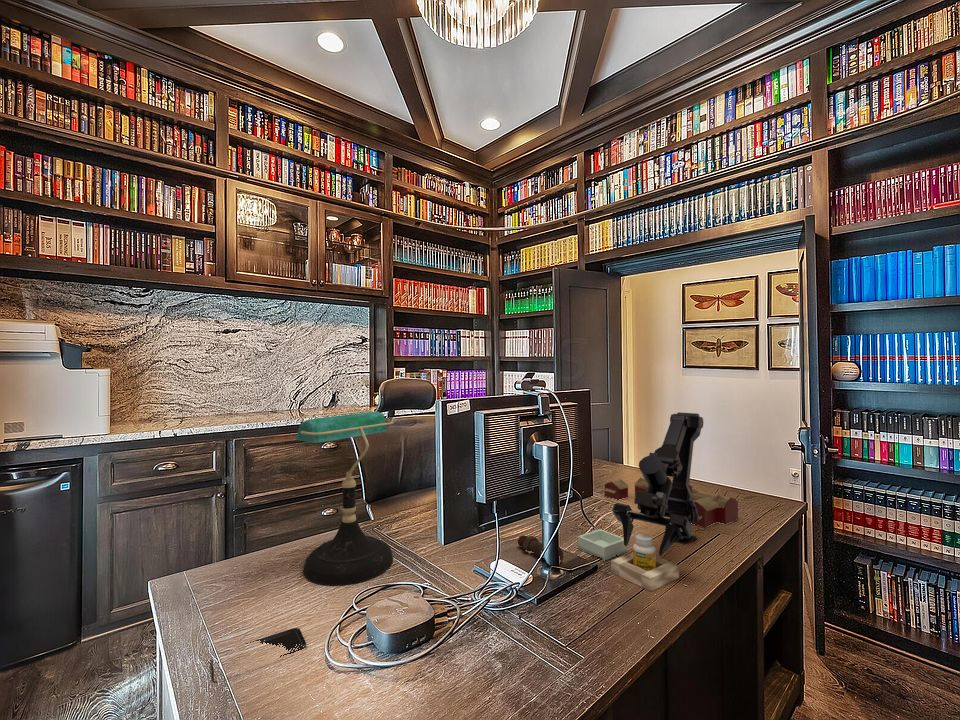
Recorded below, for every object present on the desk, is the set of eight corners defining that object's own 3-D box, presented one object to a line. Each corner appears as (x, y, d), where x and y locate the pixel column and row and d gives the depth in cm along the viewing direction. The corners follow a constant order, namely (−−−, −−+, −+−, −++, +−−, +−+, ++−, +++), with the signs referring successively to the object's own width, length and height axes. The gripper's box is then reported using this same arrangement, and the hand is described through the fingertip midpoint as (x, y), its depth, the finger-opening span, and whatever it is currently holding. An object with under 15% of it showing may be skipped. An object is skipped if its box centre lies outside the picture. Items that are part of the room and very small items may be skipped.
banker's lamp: (360, 538, 134) (360, 408, 135) (415, 557, 121) (414, 412, 122) (278, 572, 113) (278, 417, 113) (334, 599, 99) (333, 423, 100)
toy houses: (742, 519, 149) (741, 489, 149) (710, 532, 137) (709, 500, 137) (629, 489, 186) (629, 465, 186) (597, 497, 174) (597, 472, 174)
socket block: (639, 560, 117) (639, 549, 117) (679, 577, 108) (678, 565, 108) (611, 572, 111) (611, 560, 111) (651, 591, 101) (650, 578, 101)
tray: (600, 540, 131) (600, 529, 131) (627, 551, 123) (627, 539, 123) (577, 548, 126) (577, 536, 126) (604, 560, 118) (604, 547, 118)
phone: (307, 646, 82) (213, 679, 73) (307, 652, 82) (213, 686, 73) (298, 626, 88) (211, 653, 80) (298, 631, 88) (211, 660, 80)
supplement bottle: (655, 571, 111) (654, 533, 111) (657, 581, 106) (656, 542, 106) (633, 569, 113) (632, 531, 113) (633, 578, 108) (633, 539, 108)
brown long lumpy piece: (523, 552, 128) (558, 571, 115) (511, 547, 125) (545, 565, 113) (531, 533, 129) (566, 549, 117) (518, 527, 127) (553, 543, 115)
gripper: (614, 472, 119) (596, 524, 110) (687, 484, 107) (673, 544, 98) (626, 495, 125) (610, 546, 116) (697, 508, 112) (684, 567, 104)
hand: (642, 550), depth 108 cm, fingers open, 8 cm apart
